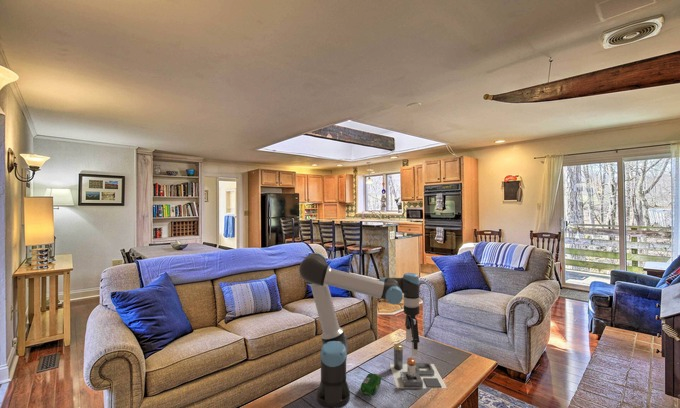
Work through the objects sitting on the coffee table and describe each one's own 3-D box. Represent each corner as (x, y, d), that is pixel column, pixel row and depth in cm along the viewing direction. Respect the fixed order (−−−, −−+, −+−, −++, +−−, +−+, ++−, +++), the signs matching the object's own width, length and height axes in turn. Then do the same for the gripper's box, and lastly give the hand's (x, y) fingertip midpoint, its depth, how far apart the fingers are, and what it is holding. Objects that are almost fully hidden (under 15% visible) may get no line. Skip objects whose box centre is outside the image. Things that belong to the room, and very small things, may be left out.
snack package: (358, 397, 143) (358, 386, 143) (369, 379, 158) (369, 369, 157) (373, 401, 140) (373, 390, 140) (382, 382, 155) (383, 372, 155)
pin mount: (403, 387, 149) (403, 382, 149) (400, 376, 158) (400, 371, 158) (422, 387, 149) (422, 382, 149) (418, 376, 158) (418, 371, 158)
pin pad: (426, 387, 149) (426, 386, 149) (423, 379, 156) (423, 378, 156) (441, 387, 149) (441, 386, 149) (437, 379, 156) (437, 378, 156)
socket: (418, 375, 160) (418, 371, 160) (414, 366, 168) (414, 363, 168) (434, 375, 160) (434, 371, 160) (429, 366, 168) (429, 363, 168)
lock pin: (408, 384, 152) (408, 361, 152) (406, 379, 156) (406, 357, 156) (416, 384, 152) (416, 361, 152) (414, 379, 156) (414, 357, 156)
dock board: (396, 389, 149) (396, 388, 149) (389, 365, 171) (389, 363, 171) (447, 389, 149) (447, 388, 149) (433, 365, 171) (433, 364, 171)
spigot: (394, 370, 164) (394, 347, 164) (393, 365, 169) (393, 343, 169) (403, 370, 164) (403, 347, 164) (401, 365, 169) (401, 343, 169)
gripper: (426, 314, 141) (426, 361, 141) (413, 297, 166) (413, 337, 166) (409, 314, 141) (409, 361, 141) (399, 297, 166) (399, 337, 166)
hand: (411, 348), depth 154 cm, fingers open, 13 cm apart
